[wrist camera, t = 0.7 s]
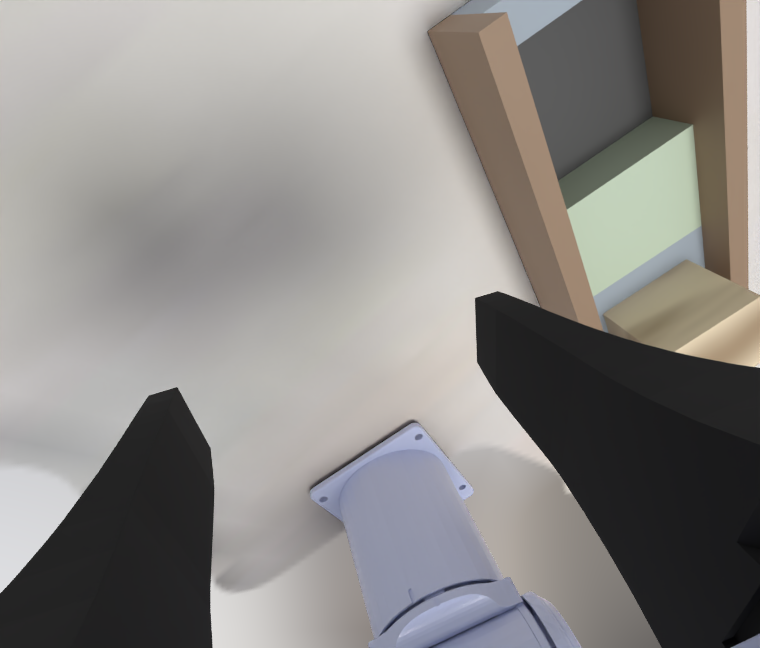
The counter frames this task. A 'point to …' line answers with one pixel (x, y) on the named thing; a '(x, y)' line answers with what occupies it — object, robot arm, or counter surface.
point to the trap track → (607, 138)
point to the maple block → (692, 316)
